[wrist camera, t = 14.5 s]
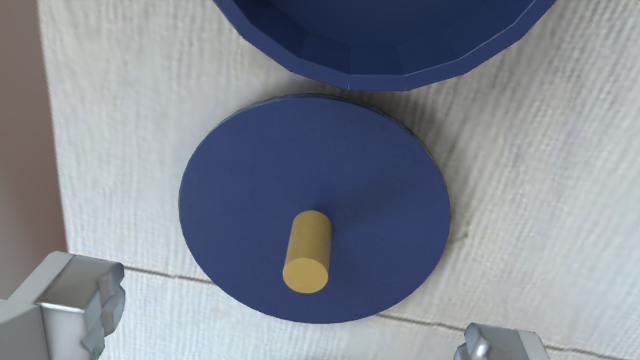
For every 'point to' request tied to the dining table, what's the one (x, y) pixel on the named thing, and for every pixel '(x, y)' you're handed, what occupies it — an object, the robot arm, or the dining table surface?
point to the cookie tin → (382, 37)
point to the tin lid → (314, 209)
